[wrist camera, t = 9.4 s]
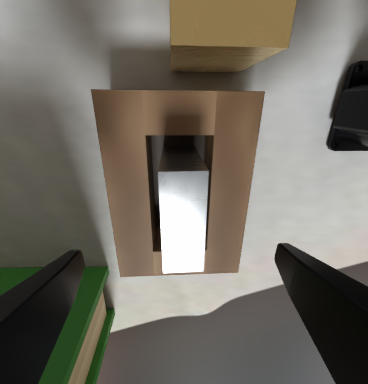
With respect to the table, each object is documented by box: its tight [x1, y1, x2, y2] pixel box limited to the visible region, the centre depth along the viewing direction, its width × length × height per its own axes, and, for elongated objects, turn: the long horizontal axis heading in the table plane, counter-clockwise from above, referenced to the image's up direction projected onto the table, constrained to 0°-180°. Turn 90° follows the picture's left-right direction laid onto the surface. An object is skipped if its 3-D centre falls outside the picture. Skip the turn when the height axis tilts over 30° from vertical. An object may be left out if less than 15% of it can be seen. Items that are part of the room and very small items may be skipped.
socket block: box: [91, 89, 265, 277], centre depth 16 cm, size 10×14×4 cm
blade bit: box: [158, 145, 209, 273], centre depth 14 cm, size 2×6×7 cm, turn 0°
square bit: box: [170, 0, 297, 72], centre depth 11 cm, size 5×5×7 cm
